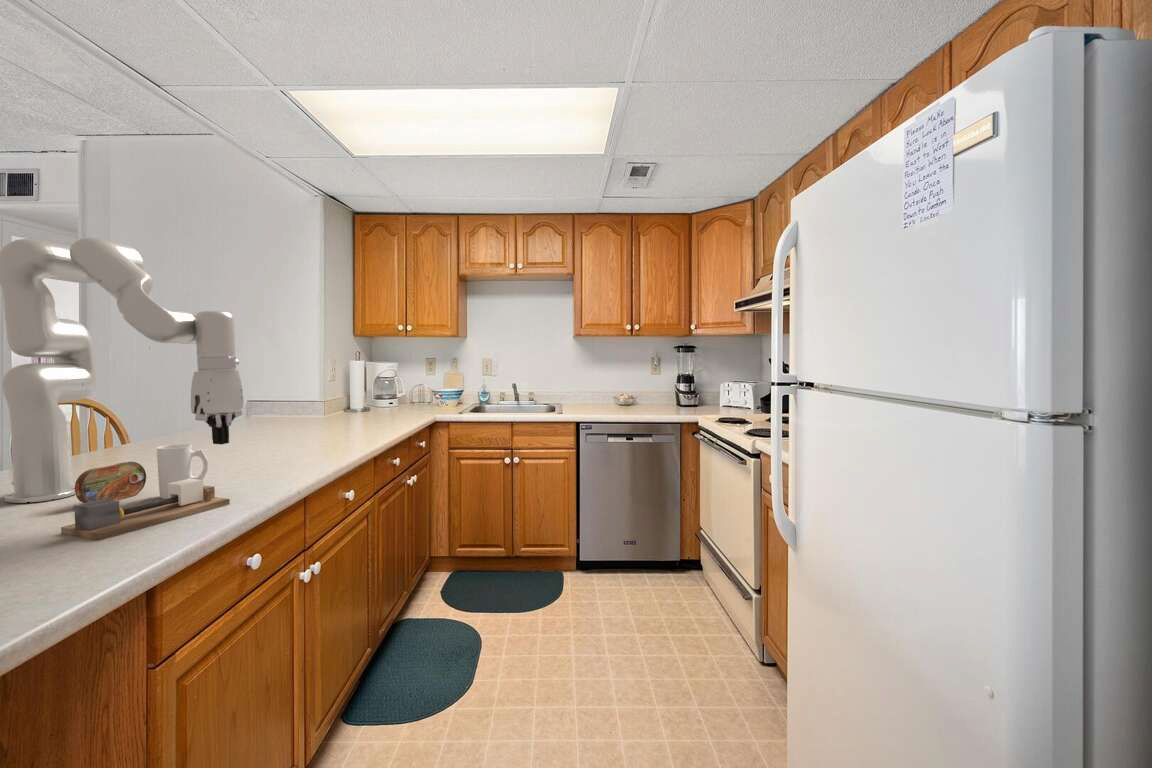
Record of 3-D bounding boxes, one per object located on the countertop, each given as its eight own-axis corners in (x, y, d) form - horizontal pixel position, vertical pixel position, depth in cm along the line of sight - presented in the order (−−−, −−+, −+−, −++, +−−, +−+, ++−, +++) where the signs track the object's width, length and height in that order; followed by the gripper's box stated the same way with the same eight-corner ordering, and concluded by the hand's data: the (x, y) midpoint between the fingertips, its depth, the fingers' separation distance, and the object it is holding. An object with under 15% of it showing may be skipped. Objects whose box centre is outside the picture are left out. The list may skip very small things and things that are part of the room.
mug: (155, 500, 129) (153, 449, 128) (161, 494, 134) (159, 445, 134) (207, 495, 133) (206, 446, 133) (210, 489, 139) (209, 442, 139)
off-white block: (168, 503, 121) (167, 483, 120) (190, 498, 125) (190, 478, 125) (181, 505, 119) (180, 485, 119) (203, 499, 124) (202, 480, 124)
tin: (84, 509, 121) (82, 471, 121) (72, 508, 122) (70, 471, 121) (148, 492, 136) (146, 458, 136) (137, 492, 137) (135, 458, 136)
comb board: (61, 533, 105) (60, 504, 105) (195, 499, 130) (194, 475, 130) (99, 540, 102) (97, 510, 101) (229, 504, 126) (228, 479, 126)
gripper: (234, 364, 136) (238, 438, 137) (172, 366, 122) (177, 448, 123) (257, 364, 134) (260, 439, 135) (196, 365, 120) (201, 449, 121)
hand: (221, 443), depth 129 cm, fingers closed
